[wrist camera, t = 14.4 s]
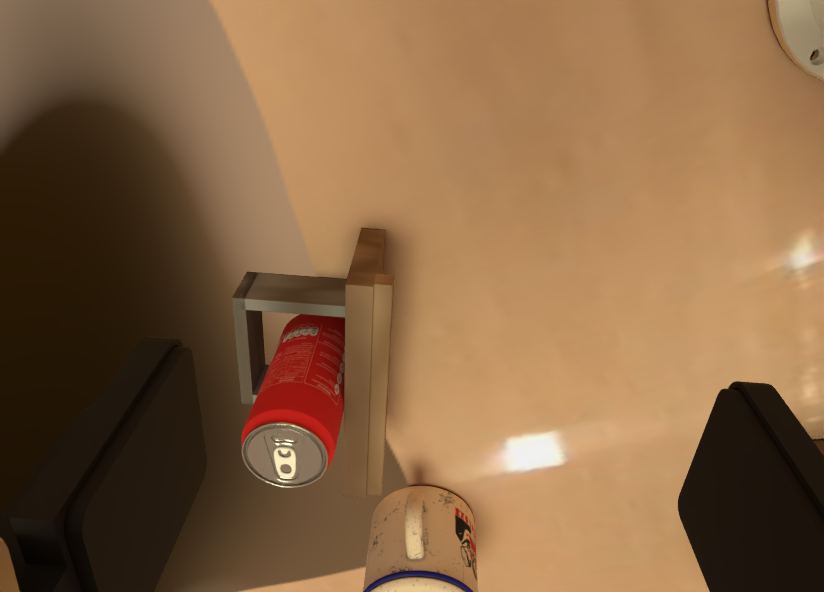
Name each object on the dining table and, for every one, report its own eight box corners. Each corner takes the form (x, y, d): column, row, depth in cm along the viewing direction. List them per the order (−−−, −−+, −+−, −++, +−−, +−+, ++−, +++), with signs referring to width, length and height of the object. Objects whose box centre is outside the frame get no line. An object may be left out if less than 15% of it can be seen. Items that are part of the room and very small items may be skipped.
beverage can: (358, 305, 43) (331, 423, 33) (358, 366, 46) (333, 493, 36) (282, 301, 43) (232, 417, 33) (287, 362, 46) (241, 488, 36)
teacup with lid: (478, 554, 55) (486, 693, 45) (375, 556, 56) (360, 692, 46) (474, 452, 50) (481, 585, 39) (359, 456, 50) (337, 587, 40)
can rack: (400, 231, 40) (392, 288, 34) (389, 422, 48) (381, 498, 42) (243, 219, 40) (204, 274, 34) (258, 412, 48) (229, 486, 42)
